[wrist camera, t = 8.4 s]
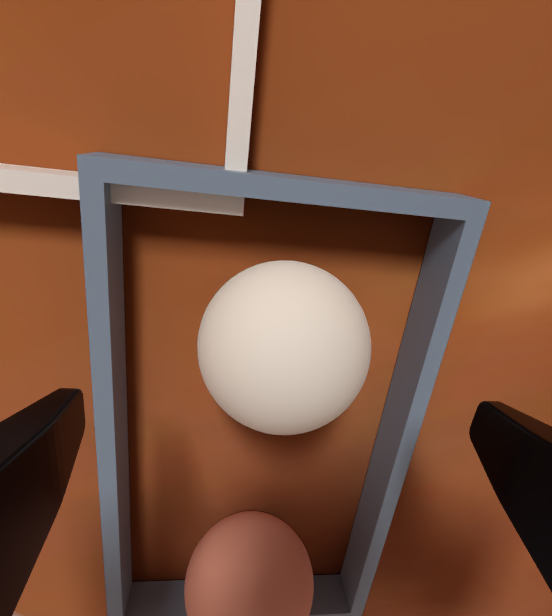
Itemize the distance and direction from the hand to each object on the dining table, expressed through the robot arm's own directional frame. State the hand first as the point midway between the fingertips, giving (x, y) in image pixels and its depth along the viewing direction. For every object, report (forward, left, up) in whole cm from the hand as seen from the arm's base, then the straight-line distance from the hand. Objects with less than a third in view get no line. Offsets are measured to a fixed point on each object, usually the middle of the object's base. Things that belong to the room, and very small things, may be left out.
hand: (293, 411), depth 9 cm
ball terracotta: (0, +10, -6) cm, 12 cm away
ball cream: (0, 0, -6) cm, 6 cm away
